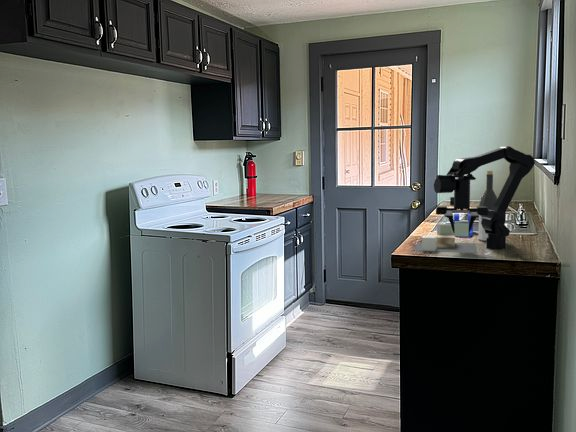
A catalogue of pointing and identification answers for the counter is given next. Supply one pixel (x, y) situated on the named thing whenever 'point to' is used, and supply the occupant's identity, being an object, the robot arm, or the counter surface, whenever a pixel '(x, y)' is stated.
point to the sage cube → (461, 228)
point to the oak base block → (445, 241)
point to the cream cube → (429, 243)
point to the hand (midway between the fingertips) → (461, 233)
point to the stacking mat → (459, 247)
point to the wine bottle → (487, 204)
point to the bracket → (456, 218)
